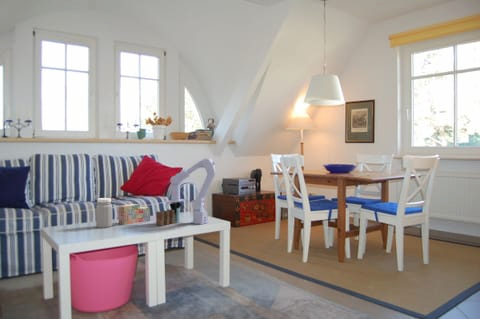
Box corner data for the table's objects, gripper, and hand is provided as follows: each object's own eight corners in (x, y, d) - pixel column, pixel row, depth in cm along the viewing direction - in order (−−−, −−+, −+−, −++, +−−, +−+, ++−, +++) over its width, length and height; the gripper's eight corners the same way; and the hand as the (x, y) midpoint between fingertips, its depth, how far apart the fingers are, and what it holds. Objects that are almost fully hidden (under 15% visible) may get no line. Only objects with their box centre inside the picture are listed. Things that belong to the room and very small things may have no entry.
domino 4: (173, 220, 266) (173, 207, 266) (179, 221, 263) (179, 208, 263) (171, 221, 264) (172, 208, 264) (177, 221, 262) (177, 208, 261)
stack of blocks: (144, 219, 274) (144, 202, 274) (150, 220, 270) (150, 203, 270) (118, 224, 257) (118, 205, 257) (124, 225, 253) (124, 206, 253)
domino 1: (158, 225, 253) (158, 211, 253) (163, 226, 250) (163, 212, 250) (156, 225, 252) (156, 211, 251) (161, 226, 249) (161, 212, 249)
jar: (107, 228, 242) (107, 199, 241) (93, 227, 244) (92, 199, 243) (115, 225, 251) (115, 197, 251) (101, 225, 253) (101, 197, 253)
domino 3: (168, 222, 262) (168, 209, 261) (174, 223, 259) (174, 210, 259) (166, 223, 260) (166, 209, 260) (172, 223, 257) (172, 210, 257)
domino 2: (163, 224, 257) (163, 210, 257) (169, 224, 255) (169, 211, 255) (161, 224, 256) (161, 210, 256) (167, 225, 253) (167, 211, 253)
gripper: (178, 192, 272) (178, 211, 272) (163, 194, 259) (163, 214, 260) (186, 193, 268) (186, 212, 268) (171, 195, 256) (171, 215, 256)
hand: (175, 213), depth 264 cm, fingers closed on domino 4, 2 cm apart
